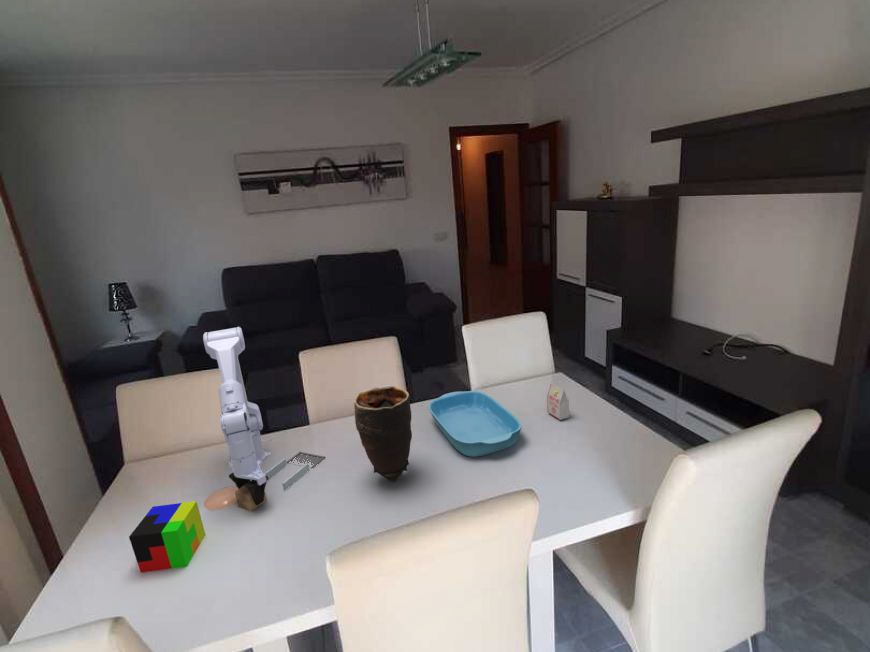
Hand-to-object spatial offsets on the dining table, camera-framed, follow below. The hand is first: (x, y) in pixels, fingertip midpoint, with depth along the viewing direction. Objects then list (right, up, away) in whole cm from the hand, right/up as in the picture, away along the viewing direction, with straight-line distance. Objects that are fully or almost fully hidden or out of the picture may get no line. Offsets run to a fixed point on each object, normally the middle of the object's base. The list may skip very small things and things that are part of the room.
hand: (253, 498), depth 121 cm
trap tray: (+9, +5, +18) cm, 21 cm away
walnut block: (0, -1, 0) cm, 1 cm away
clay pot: (+36, +3, +6) cm, 36 cm away
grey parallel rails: (+5, +2, +11) cm, 12 cm away
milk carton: (+89, +16, +33) cm, 96 cm away
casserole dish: (+60, +11, +26) cm, 67 cm away
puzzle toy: (-12, -7, -15) cm, 21 cm away
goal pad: (-9, -1, +4) cm, 10 cm away
